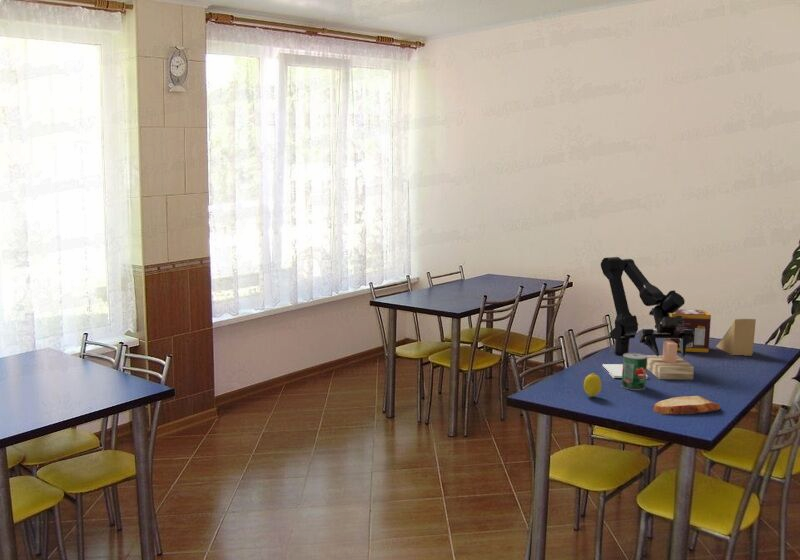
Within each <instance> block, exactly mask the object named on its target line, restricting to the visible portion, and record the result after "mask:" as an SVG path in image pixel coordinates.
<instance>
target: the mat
mask: <svg viewBox="0 0 800 560" xmlns="http://www.w3.org/2000/svg"><path fill="white" fill-rule="evenodd" d="M602 366H603V367H604V368H605V369H606V370H607V371H608V372H609V373H608V372H607V371H606V370H605V369H604V368H603V367H602ZM602 366H601V367H602V368H603V369H604V370H605V371H606V372H607V373H608V375H610V377H612V378H613V379H614V378H622V369H623V363H619V364H617V363H613V364H612V363H607V364H605V363H602ZM648 378H649V375H647V374H646V380H648Z"/></svg>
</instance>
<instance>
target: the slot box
mask: <svg viewBox="0 0 800 560" xmlns="http://www.w3.org/2000/svg"><path fill="white" fill-rule="evenodd" d="M645 355H646V354H645ZM646 356H647V369H646V370H648V371H649V372H650V373H651V374H653V375H654V376H655V377H656V378H658V380H694V374H695V373H694V371H695V367H694V365H692V364H691V363H690V362H688V361H686V360H685V359H683V357H681V356H679V355H677V360H676V363H666V362H665V361H663V360H662V358H663V355H659V356H657V355H656V354H655V355H648V354H647V355H646Z"/></svg>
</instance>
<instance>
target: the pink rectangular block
mask: <svg viewBox="0 0 800 560" xmlns="http://www.w3.org/2000/svg"><path fill="white" fill-rule="evenodd" d="M662 343H663V345H662V356H663V358H662V360H663V361H665V362H666V363H676V360H677V356H678V351H677V345H678V344H677V343H675V342H674V341H672V340H663V342H662Z"/></svg>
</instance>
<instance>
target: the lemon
mask: <svg viewBox="0 0 800 560" xmlns="http://www.w3.org/2000/svg"><path fill="white" fill-rule="evenodd" d="M583 390H584V392H585V393H586V395H588V396H590V397H591V398H594V397H595V396H597V395H598V394H599V393H600V392H601V390H602V381H601V378H600V376H599V375H597V374H595V373H594V372H591V373H590V374H588V375H587V376H585V378H584V381H583Z"/></svg>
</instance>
